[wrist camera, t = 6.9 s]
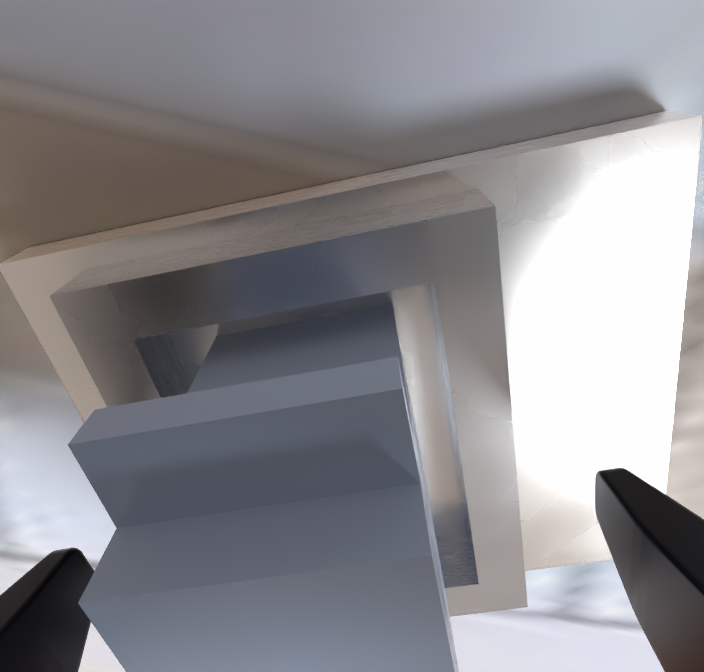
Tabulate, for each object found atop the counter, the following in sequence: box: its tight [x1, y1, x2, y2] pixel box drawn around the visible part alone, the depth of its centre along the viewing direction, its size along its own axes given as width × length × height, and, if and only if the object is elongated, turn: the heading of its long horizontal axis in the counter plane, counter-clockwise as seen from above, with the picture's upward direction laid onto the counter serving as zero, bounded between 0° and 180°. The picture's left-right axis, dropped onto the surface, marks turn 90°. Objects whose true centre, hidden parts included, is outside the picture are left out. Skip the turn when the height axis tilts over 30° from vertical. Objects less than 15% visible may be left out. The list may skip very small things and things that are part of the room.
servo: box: [68, 303, 459, 672], centre depth 8 cm, size 8×3×6 cm, turn 12°
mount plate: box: [0, 111, 703, 617], centre depth 11 cm, size 12×10×2 cm
